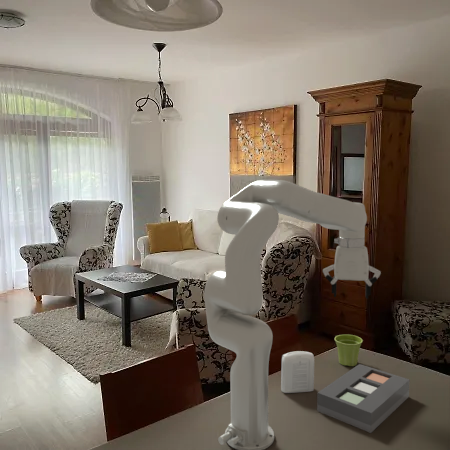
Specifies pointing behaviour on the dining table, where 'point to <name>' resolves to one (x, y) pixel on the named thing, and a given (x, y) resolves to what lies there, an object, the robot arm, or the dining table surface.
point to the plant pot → (348, 349)
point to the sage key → (351, 398)
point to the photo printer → (297, 372)
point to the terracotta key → (377, 378)
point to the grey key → (365, 387)
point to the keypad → (371, 404)
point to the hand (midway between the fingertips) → (350, 296)
